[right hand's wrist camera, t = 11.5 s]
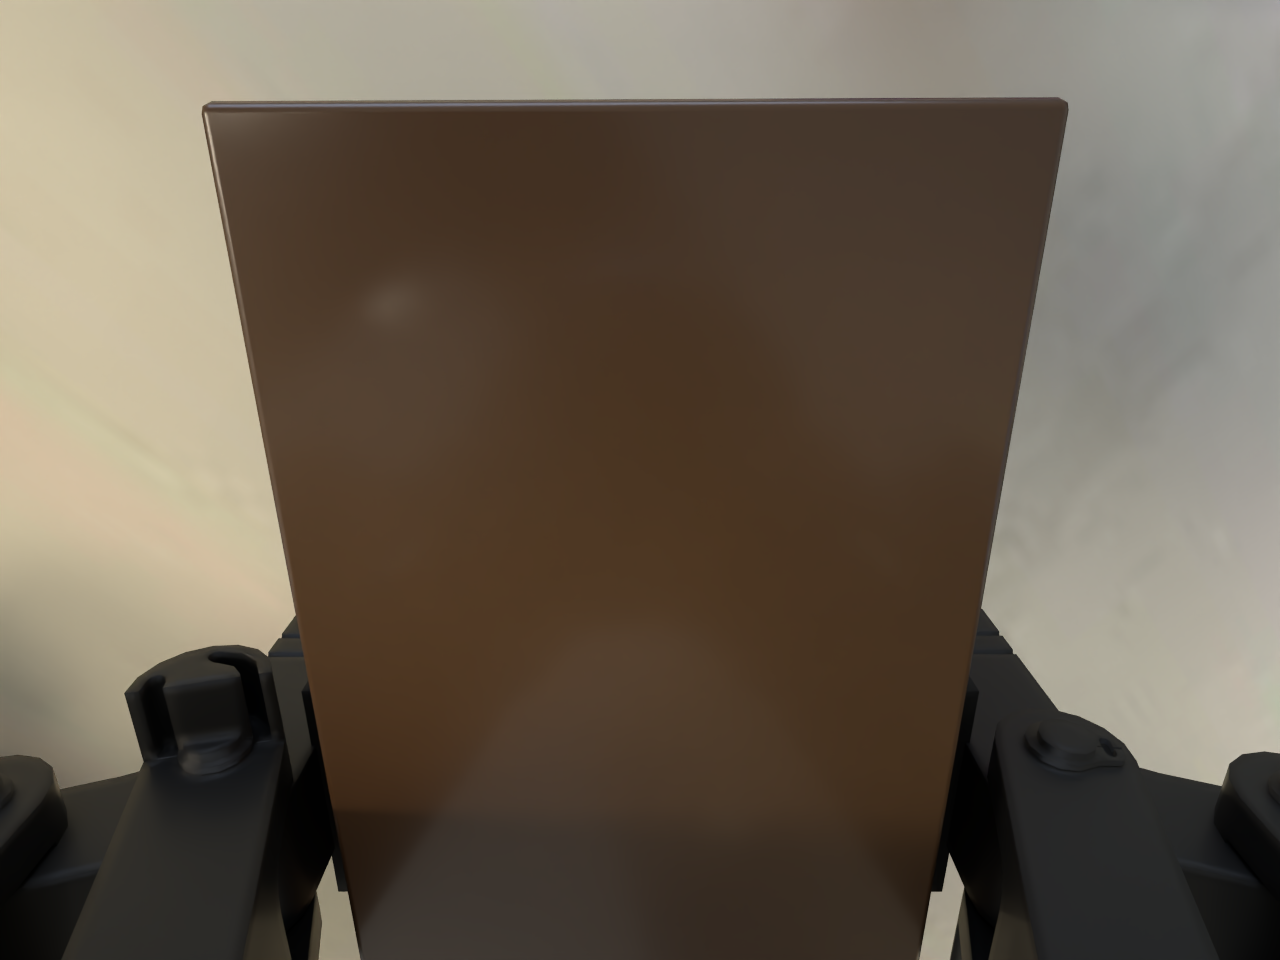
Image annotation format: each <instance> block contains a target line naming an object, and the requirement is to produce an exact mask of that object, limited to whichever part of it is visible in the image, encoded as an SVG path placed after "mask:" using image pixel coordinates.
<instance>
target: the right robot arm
mask: <svg viewBox="0 0 1280 960" xmlns="http://www.w3.org/2000/svg"><path fill="white" fill-rule="evenodd" d="M268 654H269V655H268V657H267V656H266V655H265V654H263V653H262V652H261V651H260V650H258V649H254V648H250V647H245V646H240V645H227V646H211V647H207V648H202V649H198V650H194V651H189V652H185V653H183V654H180V655H178V656H175V657H173V658H171V659H168V660H166V661H163V662H161V663H159V664H157V665H156V666H154V667H153V668H151V669H150V670H148V671H147V672H145V673H144V674H142V675H141V676H139V677H138V678H137V679H136V680H135V681H134V682H133V684H132V685H131V686H130V687H129V688H128V690H127V691H126V692H125V693H124V694H125V697H126V701H127V704H128V708H129V711H130V715H131V718H132V722H133V725H134V729H135V732H136V736H137V739H138V743H139V747H140V750H141V754H142V757H143V761H144V763H143V765H142V767H141V770H140V771H139V772H136V773H132V774H129V775H125V776H121V777H117V778H112V779H107V780H102V781H98V782H93V783H88V784H84V785H79V786H74V787H70V788H65V789H59V786H58V783H57V780H56V777H55V774H54V771H53V768H52V767H51V766H50V765H49V764H47V763H46V762H45V761H43V760H42V759H41V758H37V757H30V756H22V755H14V756H6V757H0V960H318V958H319V947H320V937H321V927H322V919H321V913H320V907H319V902H318V897H317V892H316V890H317V888H318V885H319V883H320V881H321V879H322V876H323V874H324V872H325V869H326V867H327V865H328V863H329V860H330V858H331V856H332V859H333V864H334V870H335V875H336V880H337V886H338V891H348V889H347V884H346V879H345V873H344V868H343V863H342V857H341V852H340V847H339V841H338V836H337V831H336V825H335V820H334V815H333V809H332V804H331V799H330V793H329V788H328V783H327V778H326V772H325V767H324V762H323V756H322V751H321V746H320V740H319V735H318V730H317V724H316V719H315V714H314V708H313V703H312V698H311V692H310V687H309V682H308V676H307V671H306V666H305V660H304V655H303V650H302V644H301V639H300V634H299V629H298V623H297V618H296V616H295V617H294V619H293V620H292V621H291V623H290V624H289V625H288V627H287V628H286V629H285V631H284V632H283V633H282V638H279V639H278V640H277V641H276V643H275V644H274V646H273V647H272V648H271V650H270V651H269V652H268ZM949 853H950V855H951V857H952V860H953V862H954V864H955V866H956V869H957V871H958V873H959V875H960V878H961V880H962V882H963V885H964V892H963V897H962V902H961V907H960V912H959V917H958V922H957V927H956V932H955V937H954V942H953V947H952V952H951V957H950V960H1280V754H1279V753H1271V752H1257V753H1249V754H1242V755H1241V756H1239V757H1238V758H1237V759H1235V760H1234V761H1233V762H1231V763H1230V764H1229V767H1228V770H1227V773H1226V776H1225V779H1224V782H1223V785H1222V786H1218V785H1213V784H1208V783H1204V782H1199V781H1194V780H1189V779H1185V778H1180V777H1175V776H1171V775H1166V774H1161V773H1157V772H1153V771H1150V770H1146V769H1143V768H1139V766H1138V763H1137V761H1136V760H1135V758H1134V757H1133V755H1132V754H1131V753H1130V751H1129V750H1128V748H1127V747H1126V746H1125V744H1124V743H1123V742H1121V741H1120V740H1119V739H1117V738H1116V737H1115V736H1113V735H1112V734H1111V733H1110V732H1108V731H1107V730H1106V729H1104V728H1102V727H1100V726H1098V725H1096V724H1094V723H1092V722H1090V721H1088V720H1085V719H1083V718H1081V717H1079V716H1076V715H1072V714H1068V713H1064V712H1060V711H1058V709H1057V708H1056V707H1055V705H1054V704H1053V703H1052V701H1051V700H1050V699H1049V697H1048V696H1047V695H1046V693H1045V692H1044V691H1043V689H1042V688H1041V687H1040V685H1039V684H1038V683H1037V681H1036V680H1035V679H1034V677H1033V676H1032V675H1031V673H1030V672H1029V671H1028V669H1027V668H1026V667H1025V665H1024V664H1023V663H1022V661H1021V660H1020V659H1019V657H1018V656H1017V655H1016V654H1013V649H1012V648H1011V647H1010V645H1009V644H1008V643H1007V641H1006V640H1005V639H1004V637H1003V636H999V631H998V629H997V628H996V627H995V625H994V624H993V623H992V621H991V620H990V619H989V617H988V616H987V615H986V613H985V612H984V611H983V609H981V610H980V616H979V622H978V627H977V633H976V639H975V645H974V650H973V656H972V662H971V667H970V673H969V679H968V684H967V690H966V696H965V701H964V707H963V713H962V718H961V724H960V730H959V736H958V741H957V747H956V753H955V758H954V764H953V770H952V775H951V781H950V787H949V792H948V798H947V804H946V809H945V815H944V821H943V827H942V832H941V838H940V844H939V849H938V855H937V861H936V866H935V872H934V878H933V883H932V889H931V892H942V889H943V883H944V878H945V873H946V867H947V862H948V857H949Z"/></svg>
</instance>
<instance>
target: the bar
mask: <svg viewBox="0 0 1280 960" xmlns="http://www.w3.org/2000/svg"><path fill="white" fill-rule="evenodd" d="M1067 116H1068V102H1066V101H1065V100H1063V99H1060V98H1058V97H1048V98H832V99H615V100H399V101H212V102H210V103H208V104H206V105H204V106H203V108H202V118H203V123H204V128H205V134H206V139H207V144H208V150H209V155H210V160H211V166H212V171H213V176H214V182H215V187H216V192H217V197H218V203H219V208H220V213H221V219H222V224H223V229H224V235H225V240H226V245H227V251H228V256H229V261H230V267H231V272H232V277H233V283H234V288H235V293H236V299H237V304H238V309H239V315H240V320H241V325H242V331H243V336H244V341H245V346H246V352H247V357H248V362H249V368H250V373H251V378H252V384H253V389H254V394H255V400H256V405H257V410H258V416H259V421H260V426H261V432H262V437H263V442H264V448H265V453H266V458H267V464H268V469H269V474H270V480H271V485H272V490H273V495H274V501H275V506H276V511H277V517H278V522H279V527H280V533H281V538H282V543H283V549H284V554H285V559H286V565H287V570H288V575H289V581H290V586H291V591H292V597H293V602H294V607H295V613H296V618H297V623H298V629H299V634H300V639H301V644H302V650H303V655H304V660H305V666H306V671H307V676H308V682H309V687H310V692H311V698H312V703H313V708H314V714H315V719H316V724H317V730H318V735H319V740H320V746H321V751H322V756H323V762H324V767H325V772H326V778H327V783H328V788H329V793H330V799H331V804H332V809H333V815H334V820H335V825H336V831H337V836H338V841H339V847H340V852H341V857H342V863H343V868H344V873H345V879H346V884H347V889H348V895H349V900H350V905H351V911H352V916H353V921H354V927H355V932H356V937H357V942H358V948H359V953H360V958H361V960H919V957H920V952H921V946H922V940H923V935H924V929H925V923H926V918H927V912H928V906H929V900H930V895H931V889H932V883H933V878H934V872H935V866H936V861H937V855H938V849H939V844H940V838H941V832H942V827H943V821H944V815H945V809H946V804H947V798H948V792H949V787H950V781H951V775H952V770H953V764H954V758H955V753H956V747H957V741H958V736H959V730H960V724H961V718H962V713H963V707H964V701H965V696H966V690H967V684H968V679H969V673H970V667H971V662H972V656H973V650H974V645H975V639H976V633H977V627H978V622H979V616H980V610H981V605H982V599H983V593H984V588H985V582H986V576H987V571H988V565H989V559H990V554H991V548H992V542H993V536H994V531H995V525H996V519H997V514H998V508H999V502H1000V497H1001V491H1002V485H1003V480H1004V474H1005V468H1006V462H1007V457H1008V451H1009V445H1010V440H1011V434H1012V428H1013V423H1014V417H1015V411H1016V406H1017V400H1018V394H1019V389H1020V383H1021V377H1022V371H1023V366H1024V360H1025V354H1026V349H1027V343H1028V337H1029V332H1030V326H1031V320H1032V315H1033V309H1034V303H1035V298H1036V292H1037V286H1038V280H1039V275H1040V269H1041V263H1042V258H1043V252H1044V246H1045V241H1046V235H1047V229H1048V224H1049V218H1050V212H1051V207H1052V201H1053V195H1054V189H1055V184H1056V178H1057V172H1058V167H1059V161H1060V155H1061V150H1062V144H1063V138H1064V133H1065V127H1066V121H1067Z"/></svg>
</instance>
